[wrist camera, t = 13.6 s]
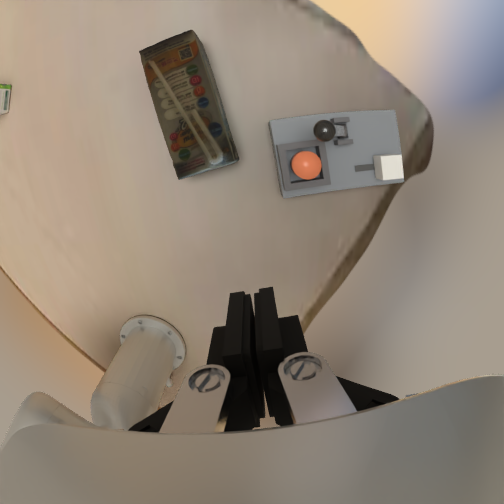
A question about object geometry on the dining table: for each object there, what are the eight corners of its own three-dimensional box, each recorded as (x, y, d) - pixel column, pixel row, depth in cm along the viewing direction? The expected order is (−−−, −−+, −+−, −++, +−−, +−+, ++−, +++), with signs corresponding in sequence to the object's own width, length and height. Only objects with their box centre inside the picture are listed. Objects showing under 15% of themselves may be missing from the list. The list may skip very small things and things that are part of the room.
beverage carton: (187, 177, 40) (174, 183, 34) (151, 60, 34) (134, 48, 27) (240, 160, 39) (237, 162, 33) (202, 41, 33) (193, 24, 27)
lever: (352, 138, 33) (334, 141, 24) (336, 140, 34) (312, 143, 26) (350, 121, 32) (330, 117, 24) (333, 123, 33) (308, 120, 25)
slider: (395, 176, 35) (403, 178, 32) (375, 178, 35) (383, 180, 32) (392, 153, 34) (401, 154, 31) (372, 155, 34) (380, 156, 31)
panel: (391, 178, 39) (411, 184, 33) (281, 193, 40) (285, 201, 34) (383, 112, 36) (402, 108, 30) (268, 123, 37) (270, 118, 31)
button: (318, 175, 34) (323, 177, 31) (292, 178, 35) (295, 181, 32) (314, 149, 33) (319, 149, 30) (288, 153, 33) (291, 153, 31)
